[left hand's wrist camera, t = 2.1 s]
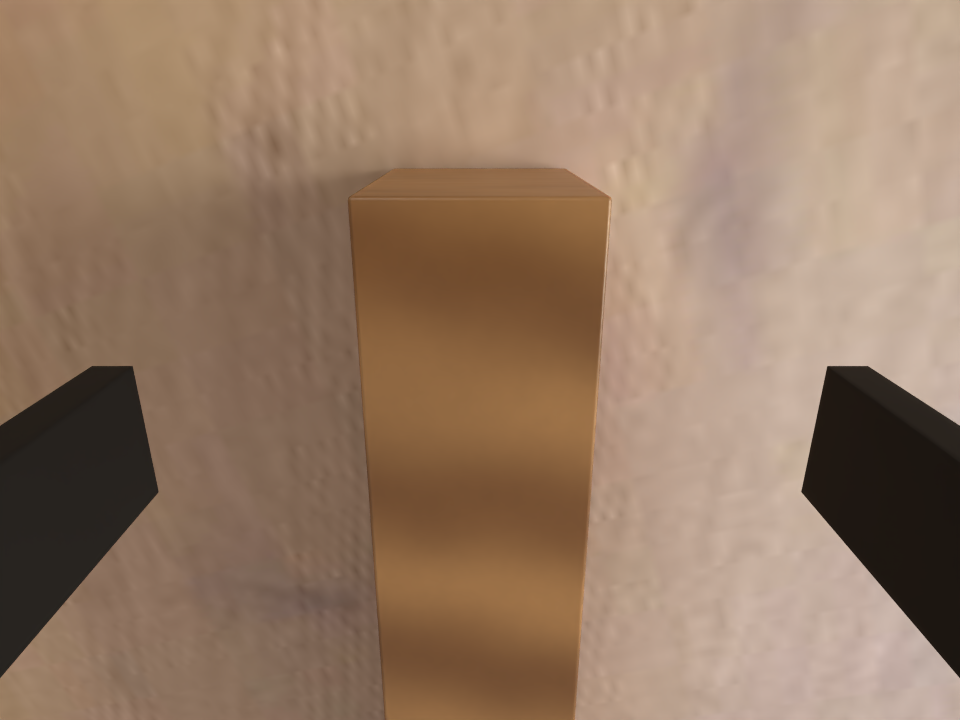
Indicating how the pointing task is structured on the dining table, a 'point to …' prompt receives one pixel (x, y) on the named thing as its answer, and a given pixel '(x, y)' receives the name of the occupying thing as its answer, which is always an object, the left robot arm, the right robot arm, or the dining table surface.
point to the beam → (479, 431)
